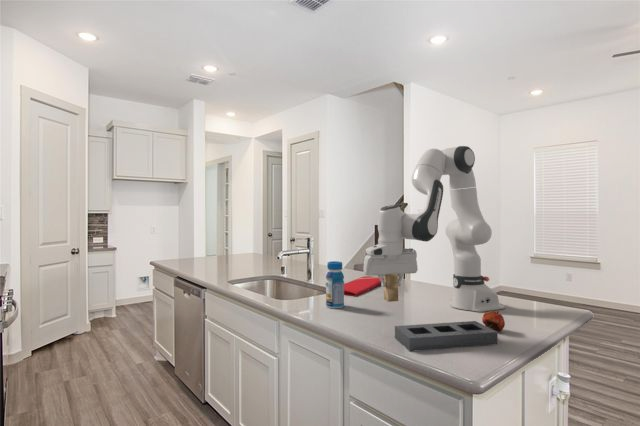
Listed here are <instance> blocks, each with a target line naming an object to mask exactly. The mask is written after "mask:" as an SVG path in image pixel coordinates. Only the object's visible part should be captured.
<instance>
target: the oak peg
mask: <svg viewBox="0 0 640 426" xmlns="http://www.w3.org/2000/svg"><path fill="white" fill-rule="evenodd" d="M398 277H399V276H398V274H387V275H384V281H385V282H387V284H386V285H387V287H383V299H384V300H385V301H386V302H388V303H390V302H392V303H393V302H399V286H398Z"/></svg>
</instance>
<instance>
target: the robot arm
mask: <svg viewBox="0 0 640 426" xmlns="http://www.w3.org/2000/svg"><path fill="white" fill-rule="evenodd" d="M475 160H476V156H475V153H474V151H473V150H472V149H471V147H469V146H466V145H460V146H456V147H448V148H444V149H441V150H440V149H438V148H429V149H427V150H425V152H424V153H423V154H422V155H421V157H419V160H418V162H417V164H416V166H415V168H414V170H413V172H412V175H411V184H412V186H413V187H414V189H415V190H416V191H417V192H419V193H421V194H423V195H426V196H427V197H426V201H425V205H424V210H423V211H422V212H421V213H418V214H417V213H407V212H404V211H403V210H402V209H401V207H400V206H399V205H394V204H393V205H387V206H383V207H381V208H380V209H379V212H378V215H377V230H378V231H377V232H378V239H377V244H375V245H372V246H369V247H367V248H366V249H365V253H366V255H365V257H364V260H363V266H362V267H363V271H362V272H363V273H364V274H365V276H371V277H373V276H377V277H378V278H379V279H380V281H381V284H380V285H381V287H382V288H384V287H387V285H386V284H387V282H385V281H384V280H383V279H382V278H384V275H387V274H398V287H401V284H402V283H401V282H402V280H403V279H404V275H407V274H409V275H410V274H416V273H418V270H419V269H418V261H417V257H418V256H417V254H418V253H417V251H416V250H415V249H414V248H411V247H410V248H403V240H404V239H405V240H416V241H421V242H430V241H431V240H433V238H435V236H436V235H437V233H438V229H439V216H440V211H441V206H442V201H443V196H444V185H443V183H442V182H441V178H442V177H443V176H447V175H448V176H449V181H448V183H449V184H448V185H449V194H450V195H449V196H450V205H451V208H452V210H453V212H455V214H456V217H457V219H455V220H452V221H449V222H448V223H447V225H446V226H445V235H446V236H447V238H448V240H449V242H450V246H451V249H452V253H453V275H452V276H453V278H452V280H453V281H452V282H453V283H452V284H453V291H452V292H453V293H452V298H451V302H450V306H451V307H452V308H456V309H459V310H464V311H465V310H466V311H471V312H472V311H473V312H477V313H482V312H483V313H484V312H487V311H488V312H491V311H495V310H504V309H506V307H505V305H504V304H503V303H500V300H499V296H498V293H497V292H496V291H495V290H494V289H492V288H491V287H489V286H488V285H487V284H485V282H489V281H490V277H488V276H484V275H482V273H481V272H482V269H481V268H482V267H481V266H482V263H481V262H482V259H481V256H480V254H479V253H478V252H477V250H476V246H479V245H484V244H486V243H487V242H489V241H490V239H491V238H492V228H491V226H490V225H489V223H487V222H486V220H485V218H484V216H483V213H482V212H481V208H480V206H479V199H478V191H477V184H476V179H475V177H476V176H475V174H474V171H473V167H474V165H475Z"/></svg>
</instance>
